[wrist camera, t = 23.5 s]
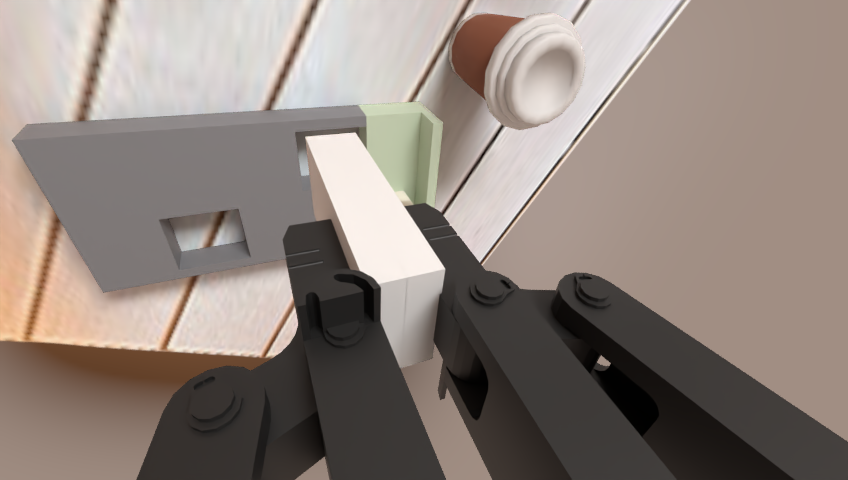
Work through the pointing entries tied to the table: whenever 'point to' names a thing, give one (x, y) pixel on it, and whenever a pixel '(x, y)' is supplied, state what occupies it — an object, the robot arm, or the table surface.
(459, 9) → the table surface
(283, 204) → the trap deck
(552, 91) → the coffee cup
